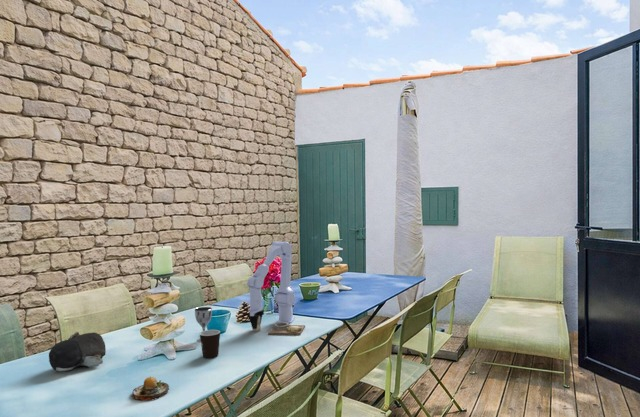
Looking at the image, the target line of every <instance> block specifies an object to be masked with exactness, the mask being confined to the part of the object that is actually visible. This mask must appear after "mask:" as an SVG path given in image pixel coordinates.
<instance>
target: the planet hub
mask: <svg viewBox="0 0 640 417" xmlns="http://www.w3.org/2000/svg"><path fill="white" fill-rule="evenodd" d="M261 329H262V328H261V324H260V316H259V318H258V322H257V329H252V332H255V333H256V332H259V331H260V332H261Z"/></svg>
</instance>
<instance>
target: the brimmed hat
mask: <svg viewBox="0 0 640 417" xmlns="http://www.w3.org/2000/svg"><path fill="white" fill-rule="evenodd" d="M169 387H170V386H169V384H168V383H167V382H164V381H162V380H159V381H158V379H157V378H156V377H154V376H149V377H146V378H145V379H144V381H143V384H142V385H138V386H137V387H135V388H134V389H132V394H131V397H132V398H133V400H135V401H136V400H140V401H142V402H146V401H147V400H148V401H153V400H152V399H154V400H156V399H155V398H157V399H160V398H162V397H163V398H164V396H166V395H168V393H169V390H170V388H169ZM159 397H160V398H159Z"/></svg>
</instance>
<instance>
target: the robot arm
mask: <svg viewBox="0 0 640 417" xmlns="http://www.w3.org/2000/svg"><path fill="white" fill-rule="evenodd" d="M277 257H280V258H281V263H280V264H281V266H280V267H281V268H280V285H279V288H277V289H276V294H275V296H274V300H275V302H276V303H277V306H278V320H277V321H276V323H280V322H287V323H289V324H292V323H293V321H294V319H295V317H294V315H293V310H294V309H293V305H294V302H295V295H294V293H295V291H294V290H293V289H292V288H291V281H292V280H291V277H292V276H291V275H292V257H293V254H292V244H291V243H290V242H288V241H276V240H274V241H273V242H272V243H271V245H270V247H269V252H268V254H267V255H266V258H265V259H264V261H263V263H261V264H259V265H258V266H257V269H256V270H255V272H254V273H253V275H252V276H250V277H249V278H248V279H247V282H246V284H247V287H248V290H249V304H250V305H249V307H248V308H247V310H248V311H249V314H247V318H248V320H249V322H250V325H251V329H252V330H253V329H257V322H258V318H259V316H260V325H261V323H262V319H263V318H262V317H263V315H264V313H265V310H264V309H263V306H262V305H263V304H262V287H263V286H264V281H265V278H266V276H267V274H268V273H269V271H270V269H269V267H270V266H271V264H272V263H273V262H274V260H275V259H276V258H277Z"/></svg>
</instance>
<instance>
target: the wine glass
mask: <svg viewBox="0 0 640 417" xmlns="http://www.w3.org/2000/svg"><path fill="white" fill-rule="evenodd" d="M212 315H213V309H212V306H200V307H196V308H194V318H195V321H196V323H197V324H199V325H200V327H201V329H202V332H203V331H206V328H207V326H208V324H209V323H210V322H211V320H212ZM196 342H197V343H201V340H200V338H197V339H196Z"/></svg>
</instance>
